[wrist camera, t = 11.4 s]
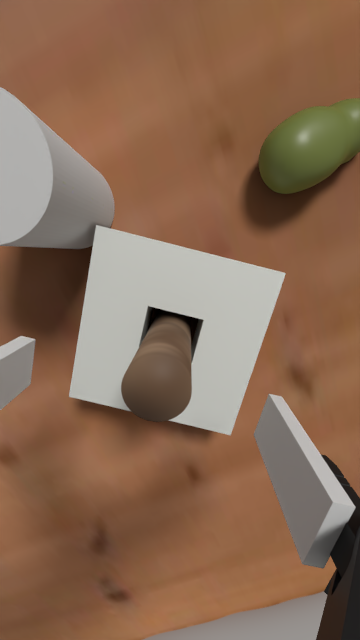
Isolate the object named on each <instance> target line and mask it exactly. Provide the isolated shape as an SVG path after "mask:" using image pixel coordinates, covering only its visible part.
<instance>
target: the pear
mask: <svg viewBox="0 0 360 640" xmlns="http://www.w3.org/2000/svg"><path fill="white" fill-rule="evenodd" d="M359 152H360V98H355V99H346V100H343V101H340V102H337V103H335V104H333V105H331V106H329V107H326V106H316V107H310V108H307V109H304V110H302V111H300V112H298V113H296V114H294V115H292V116H291V117H289V118H288V119H286V120H285V121H283V122H282V123H281V124H280V125H278V126H277V127H276V128H275V129H274V130H273V131H272V132H271V133H270V134H269V135H268V137H267V138H266V140H265V141H264V143H263V145H262V148H261V150H260V154H259V171H260V175H261V177H262V179H263V181H264V183H265V184H266V185H267V186H268V187H269V188H270V189H271V190H273V191H274V192H277V193H281V194H291V193H296V192H299V191H302V190H305V189H307V188H310V187H312V186H314V185H316V184H318V183H320V182H321V181H323V180H324V179H326V178H327V177H329V176H330V175H331V174H332V173H333V172H334V171H335V170H336V169H337V168H338V167H339V166H340V164H343V163H346V162H348V161H349V160H351V159H352V158H353V157H354V156H355V155H356V154H357V153H359Z"/></svg>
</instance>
